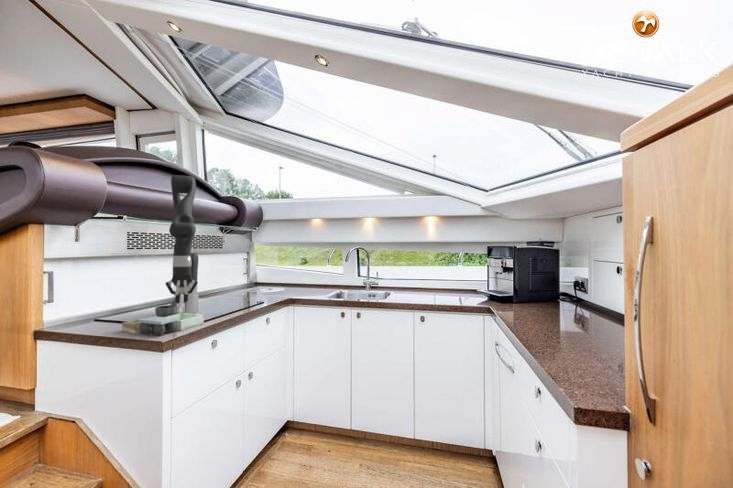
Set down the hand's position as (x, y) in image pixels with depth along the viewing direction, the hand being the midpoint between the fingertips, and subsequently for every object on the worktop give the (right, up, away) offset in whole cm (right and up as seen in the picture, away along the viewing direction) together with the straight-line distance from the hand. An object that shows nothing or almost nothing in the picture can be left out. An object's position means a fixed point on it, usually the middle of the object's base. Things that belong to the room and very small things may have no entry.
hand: (181, 302), depth 150 cm
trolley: (-4, -11, -11) cm, 16 cm away
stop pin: (0, -5, 0) cm, 5 cm away
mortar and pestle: (-13, -11, +11) cm, 20 cm away
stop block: (-15, -11, -8) cm, 20 cm away
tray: (0, -11, 0) cm, 11 cm away
